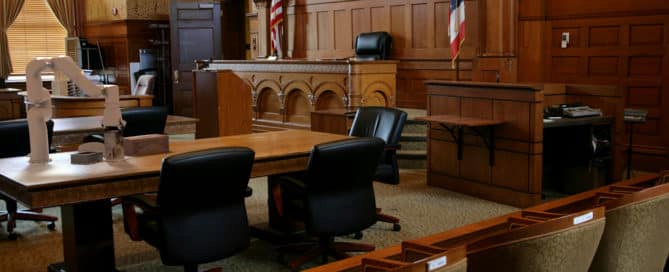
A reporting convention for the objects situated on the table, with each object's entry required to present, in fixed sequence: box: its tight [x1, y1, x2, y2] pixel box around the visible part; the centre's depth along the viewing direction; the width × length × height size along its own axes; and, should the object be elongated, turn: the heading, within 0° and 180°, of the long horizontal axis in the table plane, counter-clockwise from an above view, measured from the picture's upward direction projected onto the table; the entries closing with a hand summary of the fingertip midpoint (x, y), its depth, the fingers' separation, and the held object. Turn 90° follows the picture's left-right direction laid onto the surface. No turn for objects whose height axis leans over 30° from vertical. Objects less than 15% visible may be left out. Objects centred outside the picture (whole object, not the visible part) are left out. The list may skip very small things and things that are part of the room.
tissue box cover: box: [123, 133, 170, 156], centre depth 438 cm, size 26×14×10 cm, turn 137°
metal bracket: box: [70, 151, 104, 165], centre depth 402 cm, size 11×14×5 cm
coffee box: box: [103, 129, 125, 160], centre depth 407 cm, size 9×6×16 cm
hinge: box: [77, 141, 105, 156], centre depth 421 cm, size 17×5×10 cm, turn 132°
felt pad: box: [99, 156, 131, 162], centre depth 407 cm, size 12×12×1 cm
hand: (113, 135), depth 406 cm, fingers open, 9 cm apart
